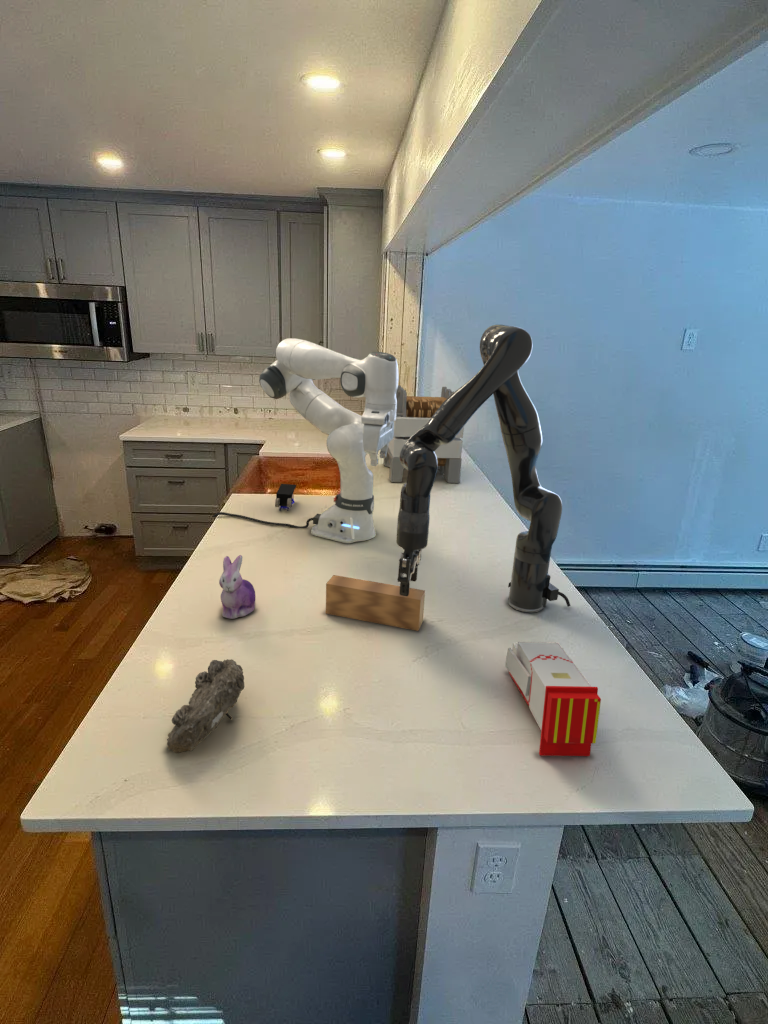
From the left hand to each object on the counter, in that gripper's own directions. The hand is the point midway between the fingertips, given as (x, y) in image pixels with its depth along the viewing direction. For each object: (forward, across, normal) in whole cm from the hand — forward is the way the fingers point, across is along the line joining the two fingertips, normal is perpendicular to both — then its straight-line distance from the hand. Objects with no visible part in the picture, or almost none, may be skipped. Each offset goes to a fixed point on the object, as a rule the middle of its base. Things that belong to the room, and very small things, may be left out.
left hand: (378, 461), depth 162 cm
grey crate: (+33, -110, -8) cm, 115 cm away
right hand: (+23, +29, +16) cm, 40 cm away
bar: (+34, +28, +8) cm, 45 cm away
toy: (+34, +51, +50) cm, 79 cm away
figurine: (+34, +37, -26) cm, 56 cm away
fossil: (+34, +74, -11) cm, 82 cm away
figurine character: (+33, -41, -47) cm, 71 cm away
